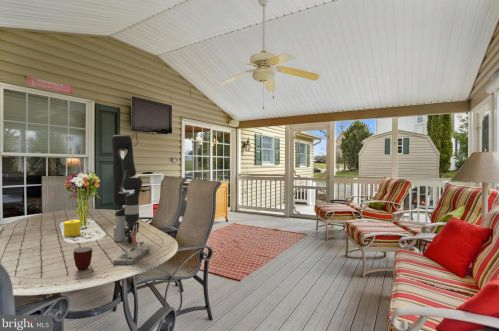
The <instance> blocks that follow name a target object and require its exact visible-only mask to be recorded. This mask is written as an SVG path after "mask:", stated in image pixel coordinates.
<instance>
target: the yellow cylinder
mask: <svg viewBox="0 0 499 331" xmlns="http://www.w3.org/2000/svg"><path fill="white" fill-rule="evenodd" d="M78 235H81V220H79V219H75V220H74V219H72V220H66V221H64V222H63V236H64V237H76V236H78Z"/></svg>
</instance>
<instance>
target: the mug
mask: <svg viewBox="0 0 499 331" xmlns="http://www.w3.org/2000/svg"><path fill="white" fill-rule="evenodd" d="M92 257H93V248H92V247H91V246H90V247H89V246H88V247H86V246H85V247H84V246H83V247H79V248H76V249H74V250H73V260H74V265H75V267H76V269H77V270H78V271H80V272H84V271H86V270H88V269H89V268H90V265H91V262H92Z"/></svg>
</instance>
